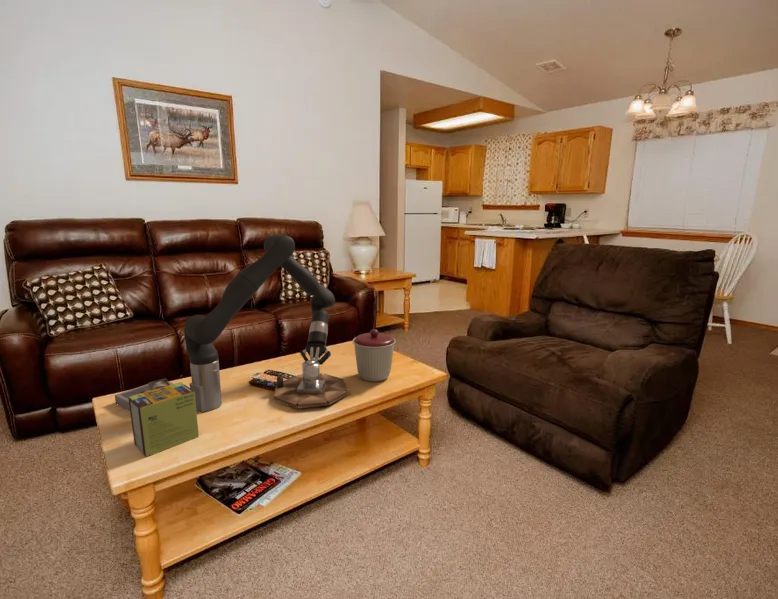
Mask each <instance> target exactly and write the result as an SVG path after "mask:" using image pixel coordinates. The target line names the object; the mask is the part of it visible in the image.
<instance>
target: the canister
mask: <svg viewBox="0 0 778 599" xmlns="http://www.w3.org/2000/svg"><path fill="white" fill-rule="evenodd" d="M396 342H397V341H396V339H395V337H393V336H391V335H389V334H387V333H382V332H379V330H378V329H375V328H374V329H371V330H370V331H369V332H366V333H361V334H359V335H357V336H355V337H354V338H353V339H352V343H353V345H354V355H355V360H356V361H355V362H356V369H357V374H358V376H359V377H360V378H361V380H364V381H367V382H381V381H384V380H386V379H387V378H389V376H390V373H391V369H392V363H393V356H394V349H395V348H394V347H395V344H396Z"/></svg>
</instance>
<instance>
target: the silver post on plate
mask: <svg viewBox="0 0 778 599" xmlns="http://www.w3.org/2000/svg"><path fill="white" fill-rule="evenodd" d="M301 370H302V372H301V373H302V375H303V380H302V382H301V383H300V385H299V386H298V388H297V393H316V394H321V392H322V390H323V388H324V386H325V380H320V371H321V370H320V365H319V362H317V361H315V360H310V359H308V361H306V362H305V361H304V362H302V364H301Z"/></svg>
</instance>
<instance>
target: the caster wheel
mask: <svg viewBox="0 0 778 599" xmlns="http://www.w3.org/2000/svg"><path fill="white" fill-rule="evenodd" d="M168 382H169V381H168V379H167V377H166V378H162V379H158V380H157V379H156V380H154V381H150V382H148V383H147V384H148V385H149V387H150V388H148V389H146V390H145V391H143V392H141V393H144V392H148V391H151V390H154V389H158V388H161V387H165V386H169V383H168ZM139 394H140V393H139Z"/></svg>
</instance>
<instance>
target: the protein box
mask: <svg viewBox="0 0 778 599" xmlns="http://www.w3.org/2000/svg"><path fill="white" fill-rule="evenodd" d="M128 399H129V406H130V411H129V412H130V414H129V415H130V419H131V427H132V436H133V442H134V446H136V447H137V449H138V450H139V451H140V452H141V454H143V456H144V457H145V456H146V458H147V457H150V456H152V454H153V455H155V454H157V452H158V453H160V451H161V452H162V451H165V449H166V450H168V449H171V448H174V447H176V446H179V445H182V444H184V443H187V442H188V441H191V440H195V439H196V438H199V437H200V435H199V424H198V415H197V414H198V413H197V410H196V402H195V391H194V390H192V389H191V388H190V386H188V385H186V384H185V383H184V382H182V381H179V382H176V383H173V384H172V385H169V386H165V387H161V388H158V389H154V390H151V391H148V392H144V393H140V394H137V395H134V396H130V397H128ZM173 446H174V447H173ZM154 453H155V454H154ZM149 455H150V456H149Z"/></svg>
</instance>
